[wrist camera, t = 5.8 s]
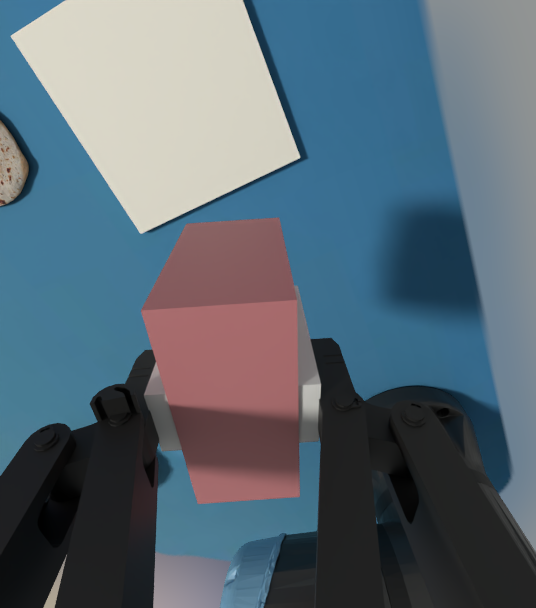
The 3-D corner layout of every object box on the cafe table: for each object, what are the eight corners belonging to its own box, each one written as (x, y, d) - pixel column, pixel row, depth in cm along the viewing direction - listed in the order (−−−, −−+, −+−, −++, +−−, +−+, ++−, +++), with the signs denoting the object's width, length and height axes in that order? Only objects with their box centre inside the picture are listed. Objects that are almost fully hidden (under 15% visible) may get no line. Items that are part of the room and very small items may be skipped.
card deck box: (285, 373, 19) (299, 496, 13) (214, 378, 19) (197, 504, 13) (279, 217, 15) (297, 299, 9) (186, 223, 15) (140, 310, 9)
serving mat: (299, 156, 26) (300, 157, 25) (142, 231, 28) (140, 234, 28) (209, -87, 19) (208, -93, 19) (16, 37, 22) (10, 36, 21)
